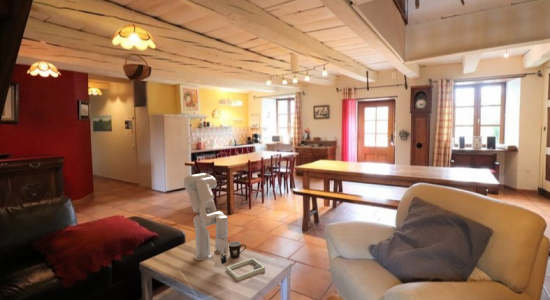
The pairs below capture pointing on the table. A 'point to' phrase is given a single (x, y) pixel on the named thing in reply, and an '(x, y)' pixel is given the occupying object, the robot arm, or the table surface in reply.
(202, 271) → the table surface
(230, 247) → the coffee mug
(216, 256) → the cylinder
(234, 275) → the tray frame
